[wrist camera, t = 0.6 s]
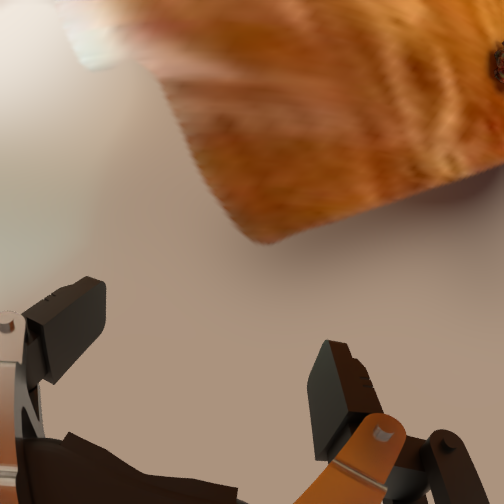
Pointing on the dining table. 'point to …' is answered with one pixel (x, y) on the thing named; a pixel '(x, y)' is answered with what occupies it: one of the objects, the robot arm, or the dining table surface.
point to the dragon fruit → (500, 64)
